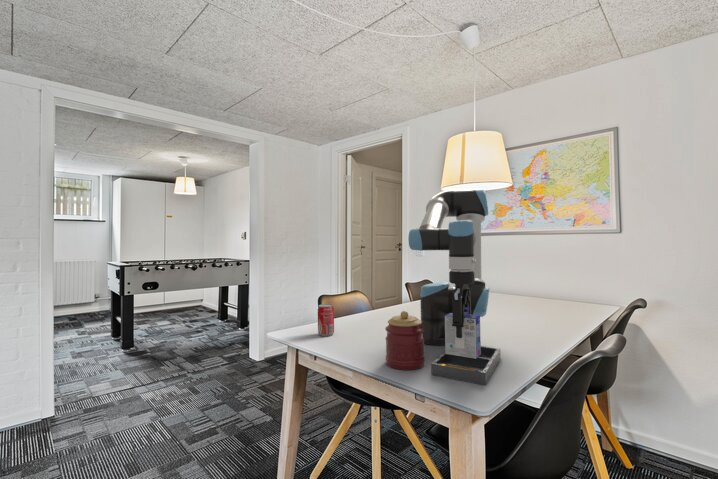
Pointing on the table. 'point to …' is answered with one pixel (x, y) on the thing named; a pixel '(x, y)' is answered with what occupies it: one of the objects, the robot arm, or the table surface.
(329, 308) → the soda can
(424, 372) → the table surface
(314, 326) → the table surface
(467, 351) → the ink cartridge box
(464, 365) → the tray
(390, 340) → the canister
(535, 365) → the table surface
